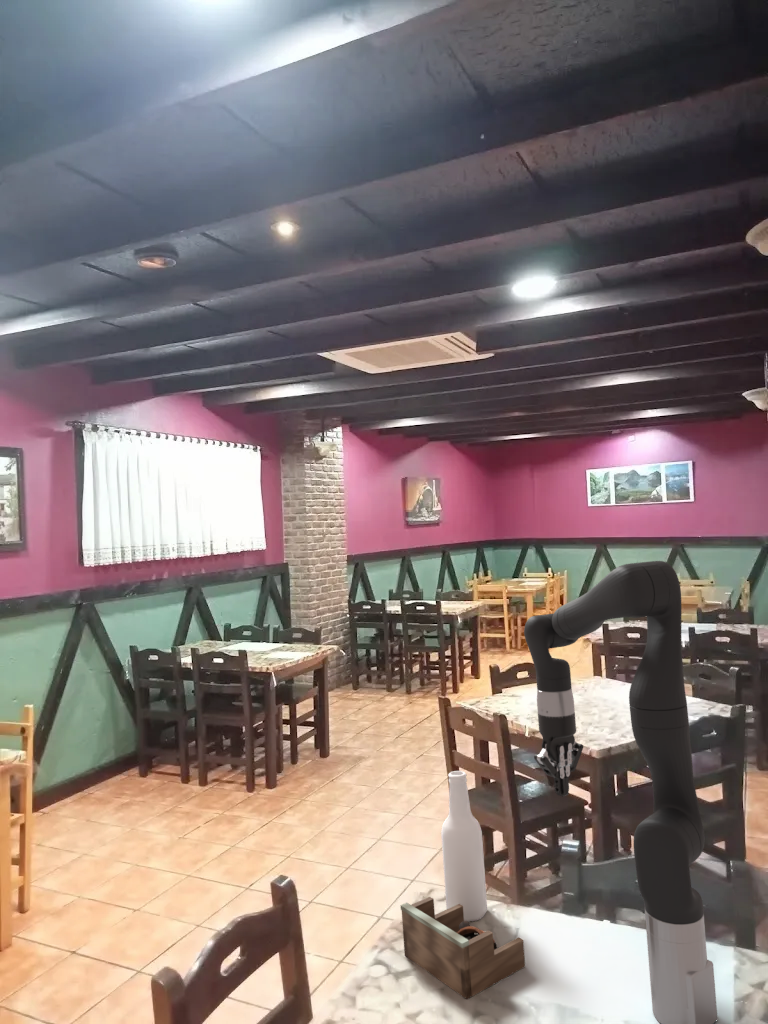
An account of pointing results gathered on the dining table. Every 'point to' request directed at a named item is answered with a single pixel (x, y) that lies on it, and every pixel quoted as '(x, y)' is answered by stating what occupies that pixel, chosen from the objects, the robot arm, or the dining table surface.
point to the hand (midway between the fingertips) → (562, 794)
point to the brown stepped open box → (456, 949)
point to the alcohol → (463, 853)
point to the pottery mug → (470, 931)
